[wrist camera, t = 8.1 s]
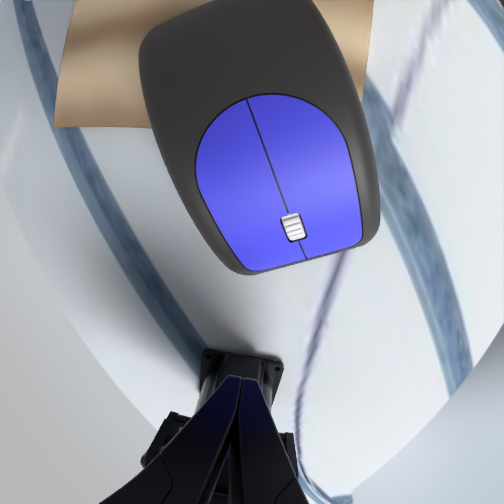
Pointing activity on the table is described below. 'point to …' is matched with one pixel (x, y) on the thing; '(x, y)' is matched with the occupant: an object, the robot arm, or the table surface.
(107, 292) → the table surface
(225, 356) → the robot arm
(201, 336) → the table surface
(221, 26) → the leaning round-cornered charcoal block
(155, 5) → the wooden board
